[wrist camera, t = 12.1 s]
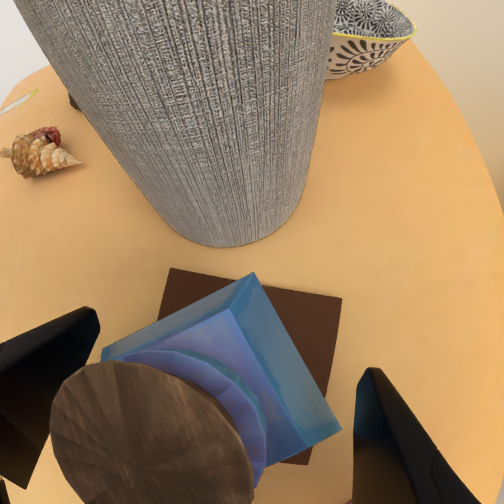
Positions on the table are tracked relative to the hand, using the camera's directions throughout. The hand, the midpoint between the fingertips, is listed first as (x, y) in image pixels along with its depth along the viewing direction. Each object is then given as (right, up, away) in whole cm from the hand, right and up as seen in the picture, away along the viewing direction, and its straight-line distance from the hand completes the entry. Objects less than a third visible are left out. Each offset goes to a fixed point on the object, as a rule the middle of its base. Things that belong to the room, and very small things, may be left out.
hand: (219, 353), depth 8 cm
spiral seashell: (-19, +12, +13) cm, 26 cm away
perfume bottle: (0, -4, +6) cm, 7 cm away
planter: (-1, +8, +10) cm, 13 cm away
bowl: (+7, +22, +14) cm, 27 cm away
